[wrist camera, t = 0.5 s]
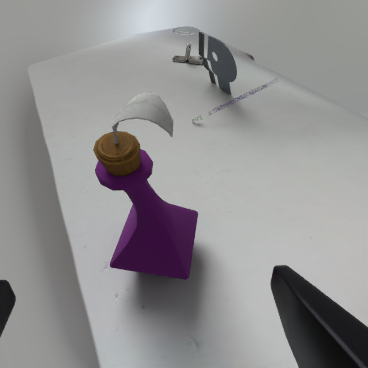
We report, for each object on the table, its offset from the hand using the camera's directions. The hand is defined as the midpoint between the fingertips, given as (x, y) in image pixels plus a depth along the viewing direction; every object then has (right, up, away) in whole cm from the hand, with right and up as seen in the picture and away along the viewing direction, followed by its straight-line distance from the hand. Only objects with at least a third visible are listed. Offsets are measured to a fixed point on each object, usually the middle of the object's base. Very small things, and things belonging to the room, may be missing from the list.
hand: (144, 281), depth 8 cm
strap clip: (+2, +37, +56) cm, 67 cm away
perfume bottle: (-1, -4, +18) cm, 19 cm away
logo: (+8, +23, +42) cm, 49 cm away
